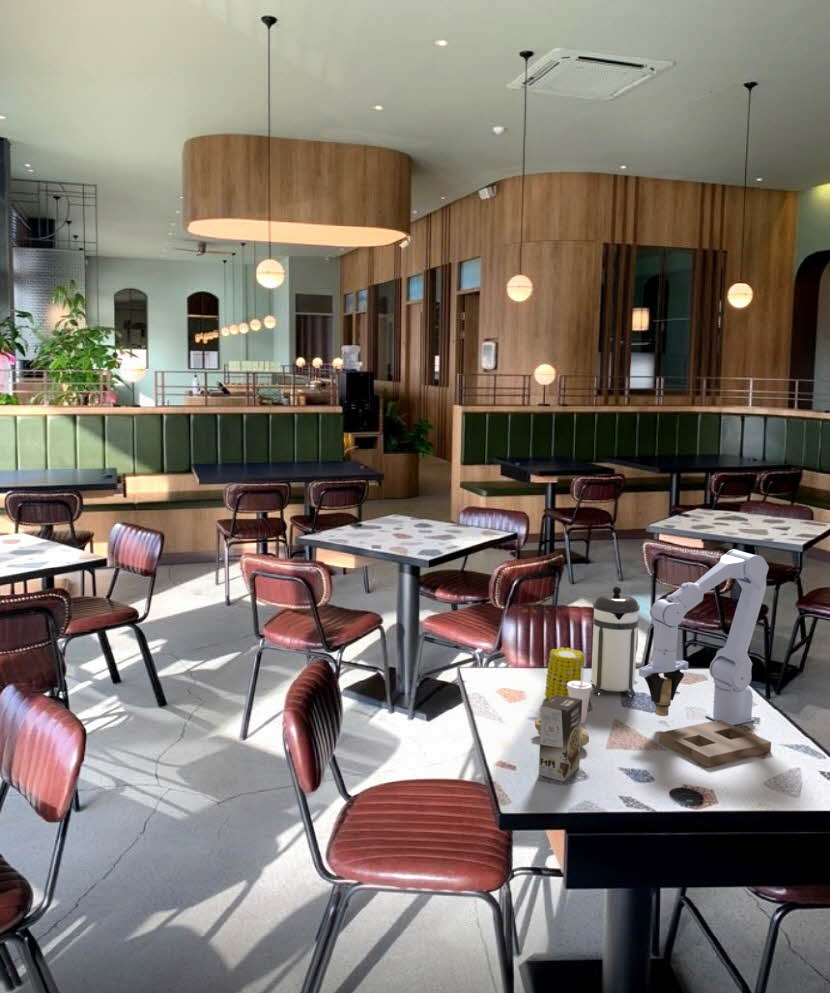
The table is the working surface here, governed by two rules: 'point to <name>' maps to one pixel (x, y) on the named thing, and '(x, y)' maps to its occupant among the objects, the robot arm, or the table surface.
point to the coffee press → (614, 642)
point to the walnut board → (714, 743)
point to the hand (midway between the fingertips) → (662, 700)
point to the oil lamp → (584, 734)
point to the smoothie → (580, 693)
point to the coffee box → (560, 737)
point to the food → (563, 670)
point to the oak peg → (664, 698)
